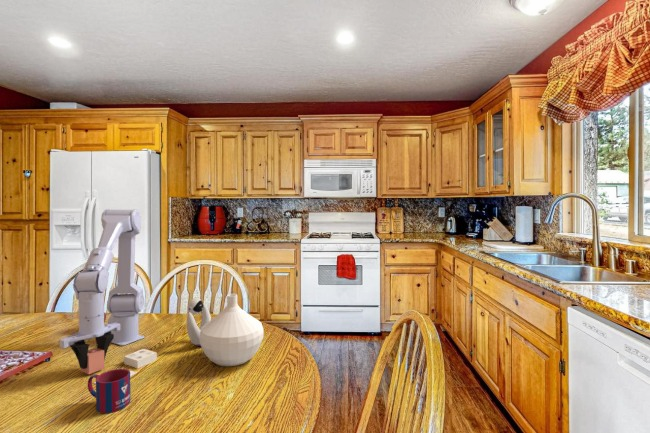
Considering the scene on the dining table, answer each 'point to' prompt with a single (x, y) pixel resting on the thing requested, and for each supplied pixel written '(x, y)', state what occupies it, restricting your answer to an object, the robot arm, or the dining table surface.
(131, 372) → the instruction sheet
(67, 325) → the dining table surface
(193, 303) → the toy
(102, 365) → the red brick
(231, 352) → the vase
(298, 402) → the dining table surface
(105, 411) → the mug
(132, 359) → the base brick
